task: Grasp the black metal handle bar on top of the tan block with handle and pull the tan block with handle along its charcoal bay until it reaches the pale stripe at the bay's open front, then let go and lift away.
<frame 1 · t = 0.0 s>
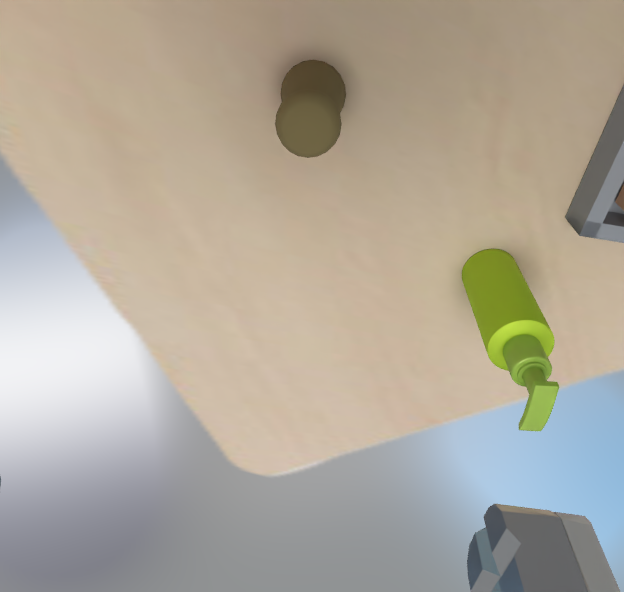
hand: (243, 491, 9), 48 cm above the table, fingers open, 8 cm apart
soap dispenser: (487, 275, 62), on the table
pepper mill: (313, 94, 53), on the table
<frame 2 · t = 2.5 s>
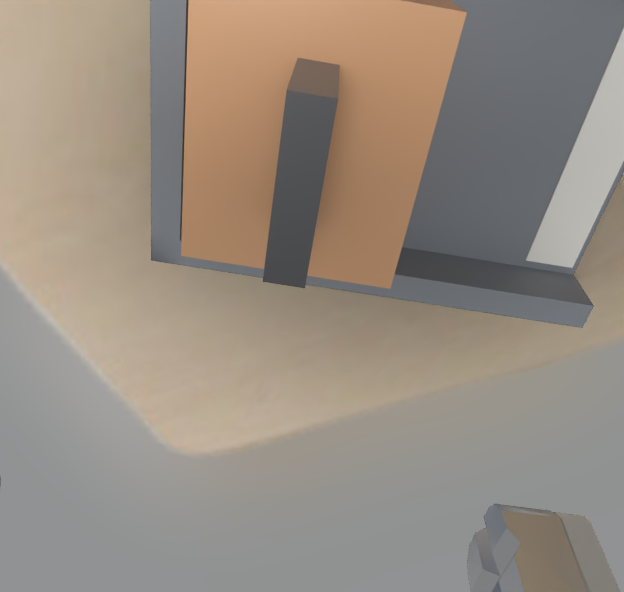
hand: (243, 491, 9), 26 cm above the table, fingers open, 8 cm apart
bay: (404, 110, 31), on the table
tan block with handle: (307, 138, 25), point 8 cm above the table, slide at 0.0 cm
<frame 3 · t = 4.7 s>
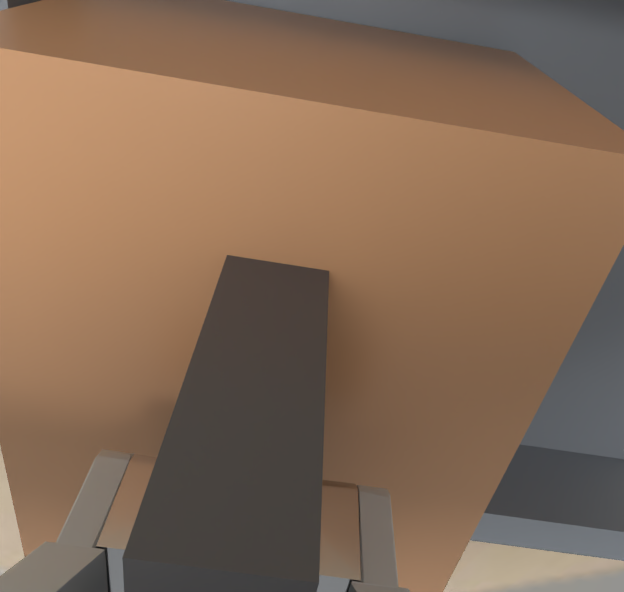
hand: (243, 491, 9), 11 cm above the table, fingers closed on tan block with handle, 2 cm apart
bay: (441, 240, 18), on the table
tan block with handle: (264, 369, 12), point 8 cm above the table, slide at 0.0 cm, touching gripper
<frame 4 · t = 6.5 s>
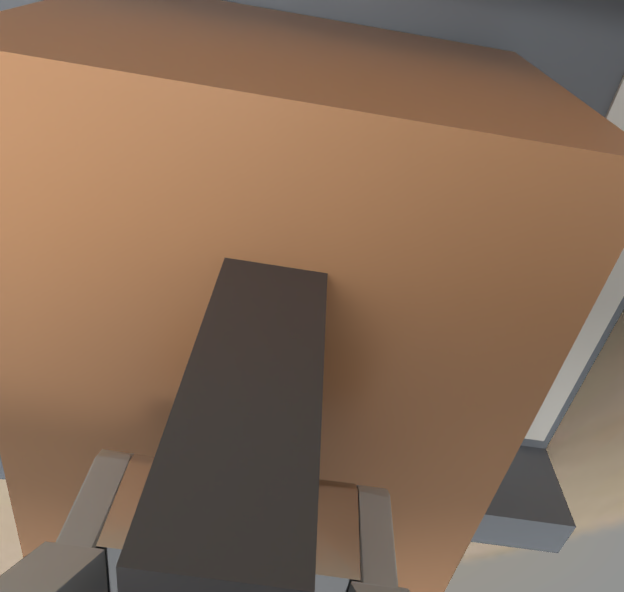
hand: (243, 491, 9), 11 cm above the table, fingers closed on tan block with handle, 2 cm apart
bay: (247, 210, 18), on the table
tan block with handle: (263, 371, 12), point 7 cm above the table, slide at 6.4 cm, touching gripper
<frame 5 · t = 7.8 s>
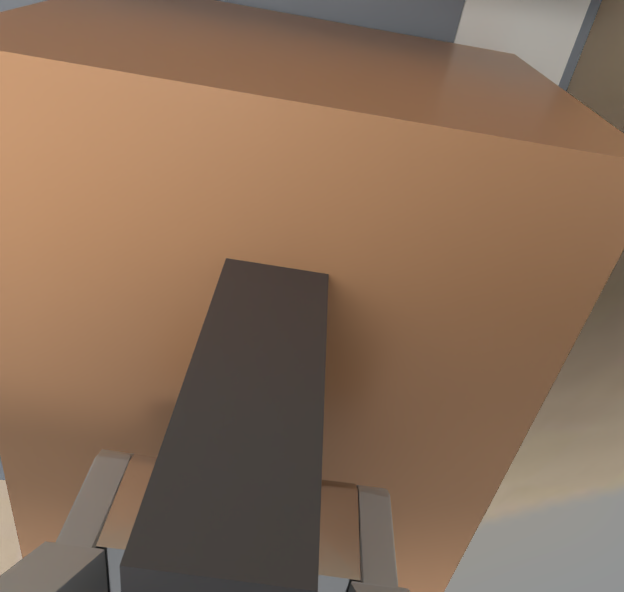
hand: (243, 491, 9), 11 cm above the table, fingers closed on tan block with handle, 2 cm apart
bay: (102, 188, 18), on the table
tan block with handle: (263, 372, 12), point 7 cm above the table, slide at 11.0 cm, touching gripper
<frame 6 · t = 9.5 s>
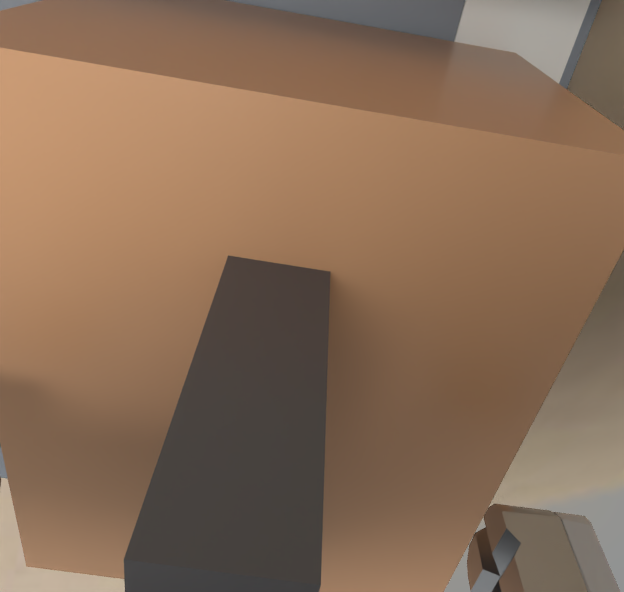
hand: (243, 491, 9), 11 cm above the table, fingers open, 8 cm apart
bay: (103, 186, 18), on the table
tan block with handle: (265, 369, 12), point 8 cm above the table, slide at 11.0 cm
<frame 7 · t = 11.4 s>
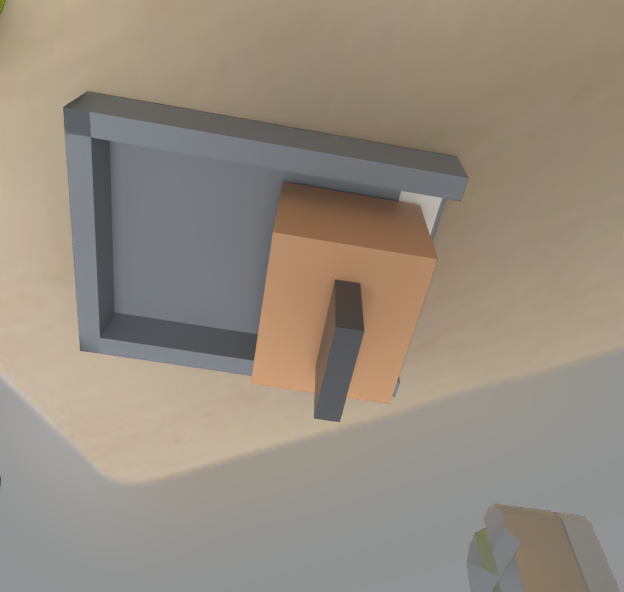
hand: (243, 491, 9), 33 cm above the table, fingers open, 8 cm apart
bay: (259, 246, 44), on the table
tan block with handle: (336, 313, 38), point 7 cm above the table, slide at 11.0 cm
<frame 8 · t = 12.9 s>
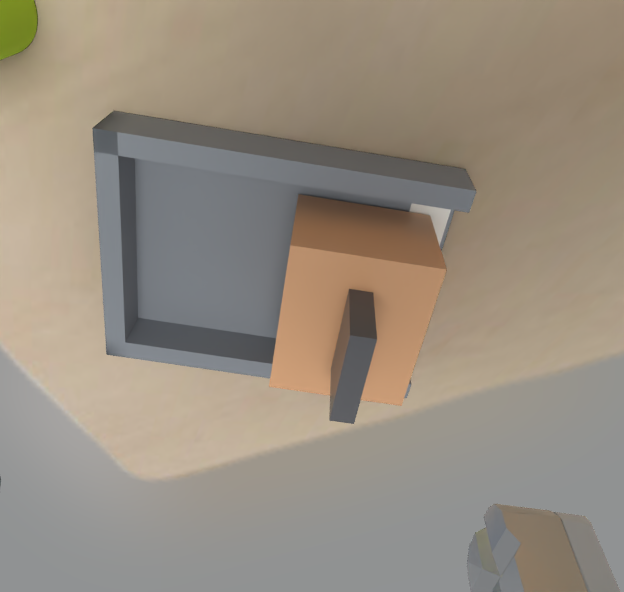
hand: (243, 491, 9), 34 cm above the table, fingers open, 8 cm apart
bay: (276, 255, 46), on the table
tan block with handle: (350, 320, 40), point 8 cm above the table, slide at 11.0 cm
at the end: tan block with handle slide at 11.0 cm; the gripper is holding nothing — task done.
